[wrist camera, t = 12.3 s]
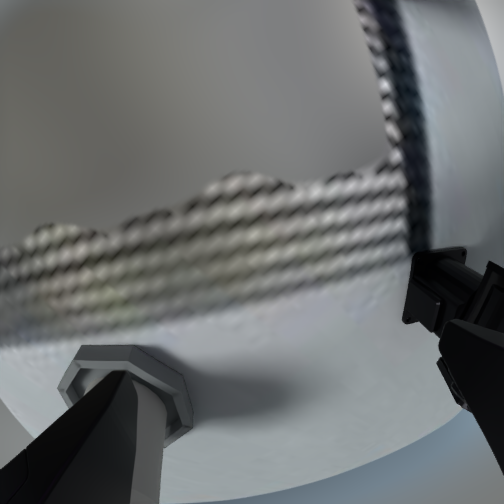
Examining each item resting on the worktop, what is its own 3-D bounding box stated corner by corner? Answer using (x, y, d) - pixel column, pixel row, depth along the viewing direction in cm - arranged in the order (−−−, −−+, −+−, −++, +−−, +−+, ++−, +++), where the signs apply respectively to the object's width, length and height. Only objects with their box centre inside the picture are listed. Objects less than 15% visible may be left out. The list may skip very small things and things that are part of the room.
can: (178, 422, 24) (174, 536, 13) (109, 425, 23) (87, 525, 12) (150, 365, 21) (125, 501, 10) (74, 371, 21) (27, 481, 10)
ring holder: (174, 343, 21) (172, 359, 20) (199, 432, 25) (199, 447, 23) (50, 344, 20) (41, 358, 18) (95, 428, 24) (91, 442, 22)
